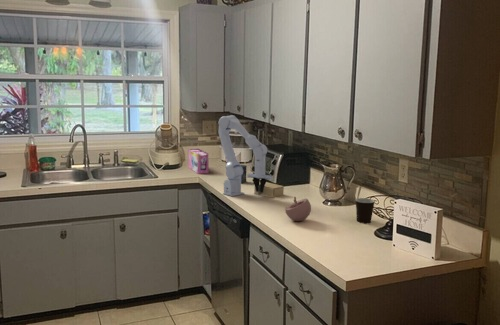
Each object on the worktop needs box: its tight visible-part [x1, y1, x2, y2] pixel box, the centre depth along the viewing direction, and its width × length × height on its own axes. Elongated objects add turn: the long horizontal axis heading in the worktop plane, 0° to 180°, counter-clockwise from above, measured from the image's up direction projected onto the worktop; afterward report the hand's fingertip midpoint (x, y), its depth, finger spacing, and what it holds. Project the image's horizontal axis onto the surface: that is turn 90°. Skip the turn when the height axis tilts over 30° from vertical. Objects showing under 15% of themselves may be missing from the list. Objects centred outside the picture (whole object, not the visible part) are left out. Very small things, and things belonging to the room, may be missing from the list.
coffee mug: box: [355, 197, 375, 224], centre depth 230 cm, size 12×9×10 cm
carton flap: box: [254, 183, 274, 198], centre depth 272 cm, size 12×5×7 cm, turn 57°
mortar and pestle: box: [284, 196, 312, 222], centre depth 229 cm, size 12×12×11 cm
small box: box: [240, 164, 247, 184], centre depth 308 cm, size 11×6×10 cm, turn 62°
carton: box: [264, 182, 285, 198], centre depth 278 cm, size 8×12×5 cm, turn 44°
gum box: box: [188, 148, 210, 175], centre depth 340 cm, size 24×8×14 cm, turn 23°
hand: (259, 191), depth 270 cm, fingers closed
